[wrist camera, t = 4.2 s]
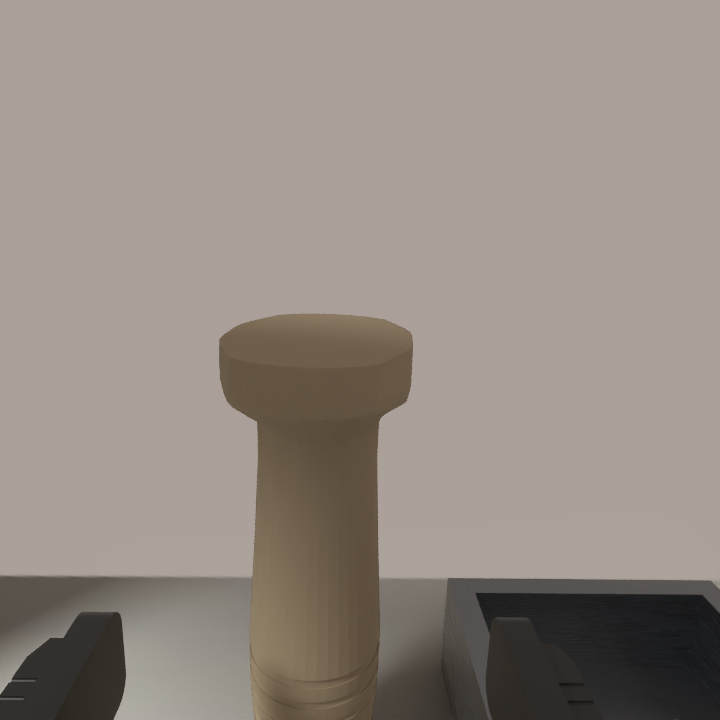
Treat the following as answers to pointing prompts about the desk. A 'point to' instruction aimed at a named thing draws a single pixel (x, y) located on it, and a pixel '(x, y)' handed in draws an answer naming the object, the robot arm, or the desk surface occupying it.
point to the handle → (315, 503)
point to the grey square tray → (596, 641)
